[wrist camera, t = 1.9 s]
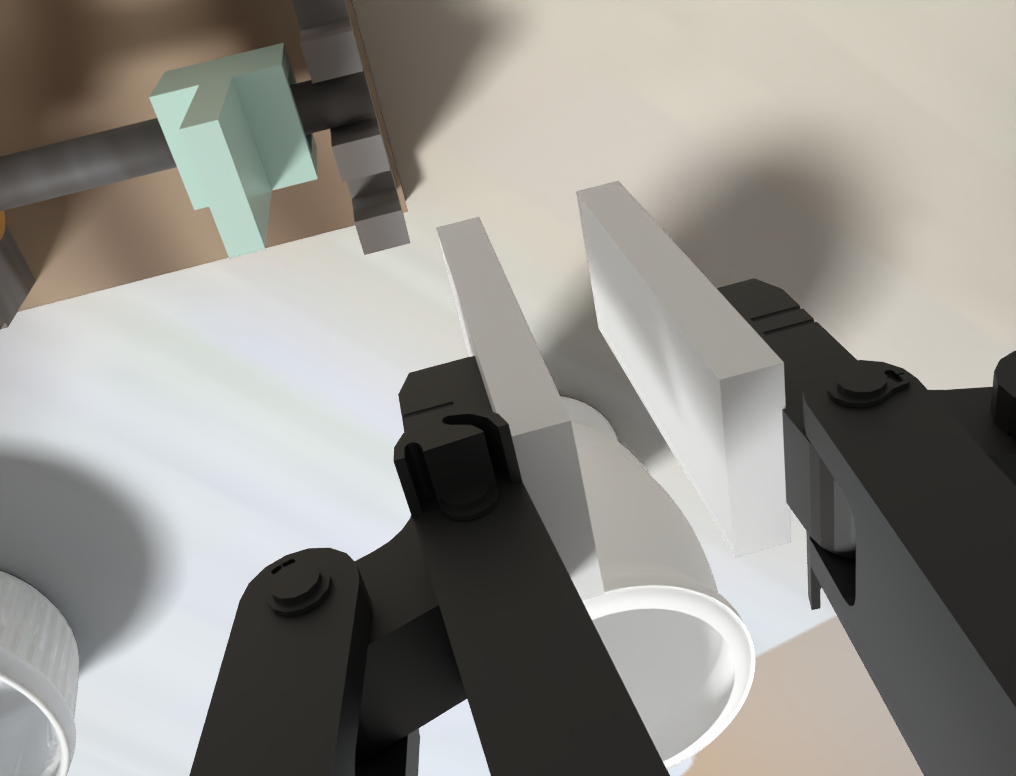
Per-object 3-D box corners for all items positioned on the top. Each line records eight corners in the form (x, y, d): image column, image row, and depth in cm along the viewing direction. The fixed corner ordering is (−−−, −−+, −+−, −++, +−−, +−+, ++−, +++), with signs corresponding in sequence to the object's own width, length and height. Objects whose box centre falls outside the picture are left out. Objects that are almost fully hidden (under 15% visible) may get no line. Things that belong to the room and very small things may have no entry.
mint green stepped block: (284, 42, 31) (276, 105, 23) (317, 147, 33) (319, 235, 25) (165, 71, 30) (120, 144, 23) (205, 175, 32) (174, 272, 25)
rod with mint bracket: (318, -122, 32) (321, -112, 26) (405, 201, 38) (425, 276, 32) (-264, 15, 31) (-419, 63, 24) (-76, 324, 37) (-158, 428, 31)
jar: (414, 402, 43) (458, 633, 31) (626, 350, 44) (754, 556, 31) (458, 567, 49) (510, 821, 36) (645, 519, 50) (761, 752, 37)
